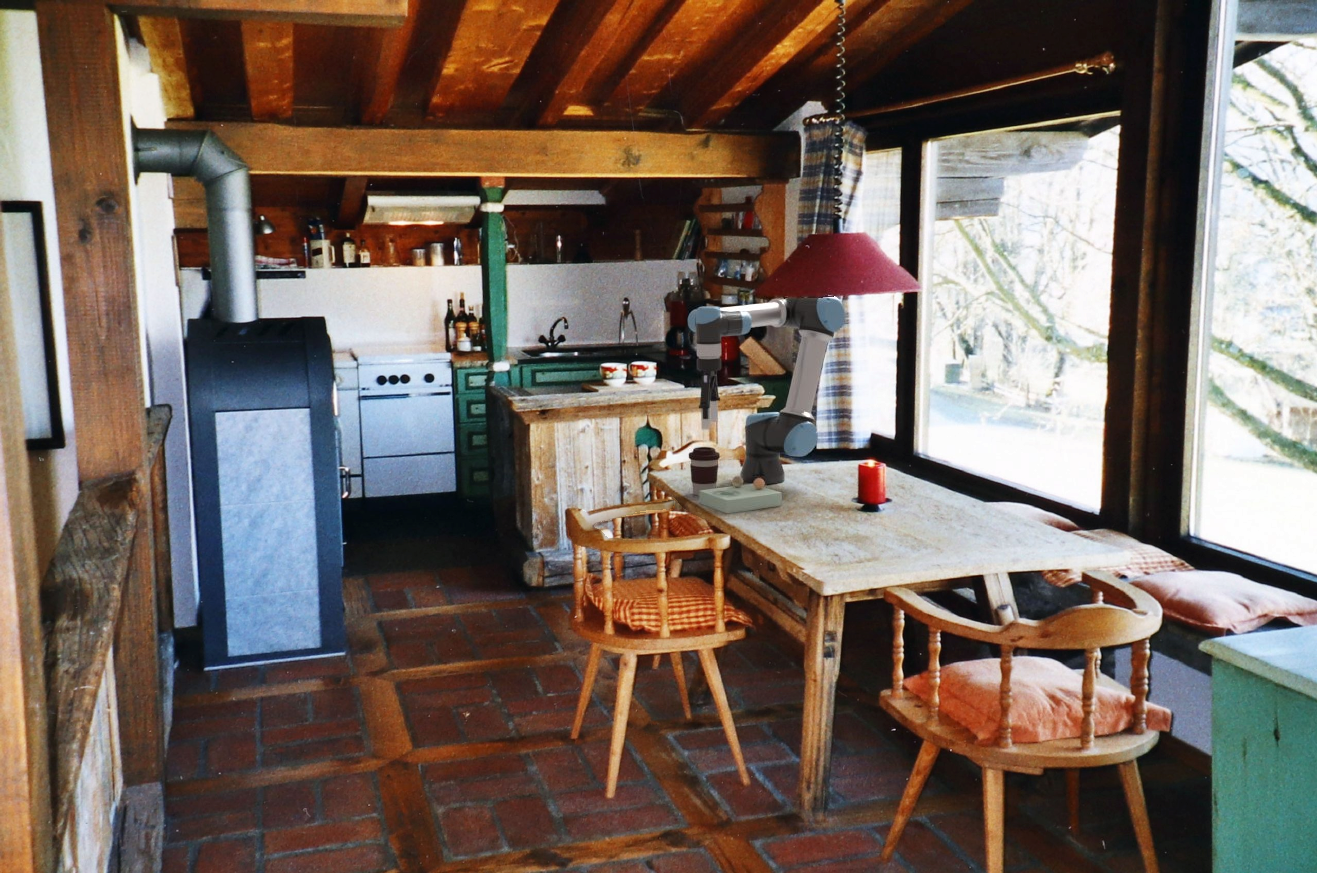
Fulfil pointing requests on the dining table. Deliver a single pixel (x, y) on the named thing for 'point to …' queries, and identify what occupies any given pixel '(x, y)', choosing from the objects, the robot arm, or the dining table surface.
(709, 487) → the coffee cup
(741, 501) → the board
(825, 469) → the dining table surface
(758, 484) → the terracotta ball
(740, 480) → the beech ball
